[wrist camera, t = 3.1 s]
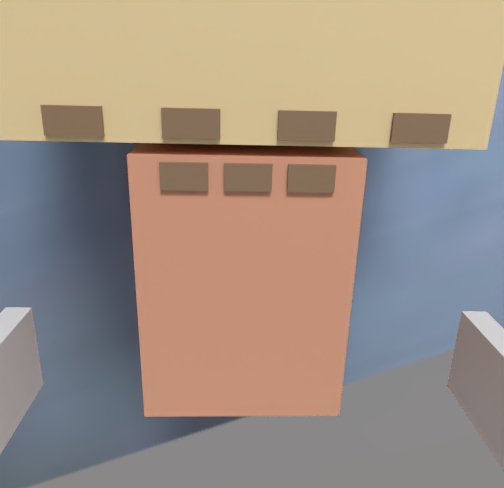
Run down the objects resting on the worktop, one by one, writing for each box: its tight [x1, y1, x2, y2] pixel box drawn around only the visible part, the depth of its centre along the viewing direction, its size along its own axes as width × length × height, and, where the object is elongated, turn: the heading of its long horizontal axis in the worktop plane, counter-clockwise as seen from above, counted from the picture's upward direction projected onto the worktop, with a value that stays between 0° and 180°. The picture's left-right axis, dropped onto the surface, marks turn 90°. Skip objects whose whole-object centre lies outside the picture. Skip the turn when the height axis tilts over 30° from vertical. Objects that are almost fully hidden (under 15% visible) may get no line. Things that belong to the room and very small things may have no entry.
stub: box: [127, 143, 368, 417], centre depth 19 cm, size 8×6×12 cm
